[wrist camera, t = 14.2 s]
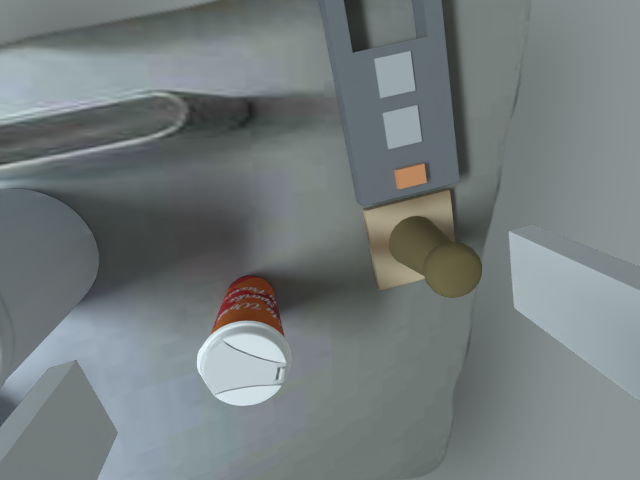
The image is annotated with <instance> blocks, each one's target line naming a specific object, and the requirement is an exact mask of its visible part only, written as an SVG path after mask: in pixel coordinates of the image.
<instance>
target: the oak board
mask: <svg viewBox="0 0 640 480" xmlns="http://www.w3.org/2000/svg"><path fill="white" fill-rule="evenodd" d="M363 213H364V218H365V224H366V229H367V234H368V240H369V245H370V250H371V256H372V261H373V267H374V272H375V277H376V283H377V288H378V289H379V290H380V291H381V290H385V289H389V288H392V287H396V286H400V285H403V284H407V283H411V282H415V281H418V280H422V279H425V277H424V276H423V275H421V274H419V273H417V272H416V271H414V270H412V269H410V268H408V267H407V266H405V265H403V264H401V263H399V262H398V261H396V260H395V258H394V257H393V256H392V254H391V252H390V249H389V239H390V235H391V232H392V231H393V229H394V228H395V226H396V225H397V224H398V223H399V222H401V221H402V220H404V219H406V218H408V217H412V216H421V217H425V218H427V219H428V220H430V221H432V222H433V223H434V224H435V225H436V226H437V227H438V228H439V229H440V230H441V231H442V232H443V233H444V234H445V235H446V236H447V237H448V238H449V239H450V240H451V241H452V242H455V233H454V224H453V214H452V205H451V196H450V190H449V189H442V190H438V191H434V192H430V193H426V194H422V195H418V196H414V197H410V198H406V199H402V200H398V201H394V202H390V203H386V204H382V205H378V206H374V207H370V208H366V209H363Z"/></svg>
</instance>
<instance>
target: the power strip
mask: <svg viewBox="0 0 640 480" xmlns="http://www.w3.org/2000/svg"><path fill="white" fill-rule="evenodd" d="M412 2H413V10H414V18H415V26H416V34H417V39H413V40H409V41H404V42H400V43H395V44H390V45H386V46H381V47H377V48H372V49H367V50H363V51H358V52H354V53H353V51H352V46H351V40H350V34H349V28H348V22H347V17H346V11H345V5H344V0H319V4H320V9H321V15H322V20H323V25H324V31H325V36H326V41H327V46H328V52H329V57H330V62H331V67H332V73H333V78H334V83H335V88H336V94H337V99H338V104H339V110H340V115H341V120H342V125H343V131H344V136H345V141H346V146H347V152H348V157H349V162H350V167H351V173H352V178H353V183H354V189H355V194H356V199H357V202H358V203H359V204H360V205H362V206H365V205H369V204H373V203H377V202H381V201H385V200H389V199H393V198H397V197H401V196H405V195H409V194H413V193H417V192H421V191H425V190H429V189H433V188H437V187H441V186H445V185H449V184H453V183H457V182H460V180H459V170H458V160H457V150H456V140H455V130H454V120H453V110H452V100H451V90H450V80H449V70H448V60H447V50H446V40H445V30H444V20H443V10H442V0H412Z"/></svg>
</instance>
